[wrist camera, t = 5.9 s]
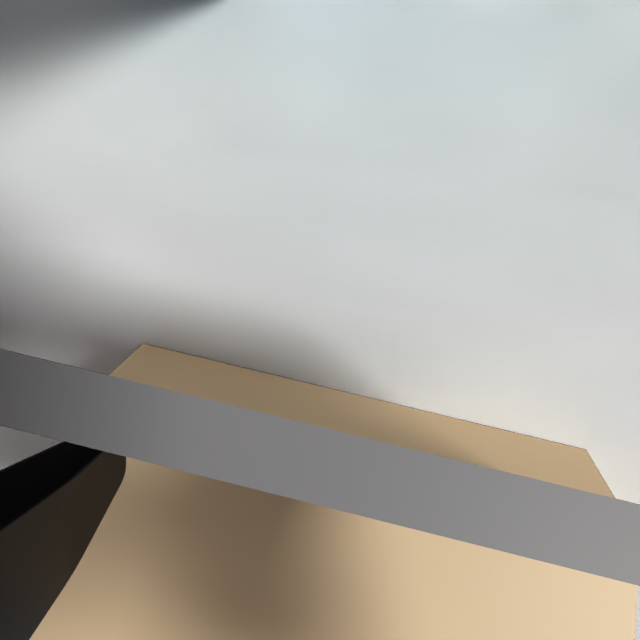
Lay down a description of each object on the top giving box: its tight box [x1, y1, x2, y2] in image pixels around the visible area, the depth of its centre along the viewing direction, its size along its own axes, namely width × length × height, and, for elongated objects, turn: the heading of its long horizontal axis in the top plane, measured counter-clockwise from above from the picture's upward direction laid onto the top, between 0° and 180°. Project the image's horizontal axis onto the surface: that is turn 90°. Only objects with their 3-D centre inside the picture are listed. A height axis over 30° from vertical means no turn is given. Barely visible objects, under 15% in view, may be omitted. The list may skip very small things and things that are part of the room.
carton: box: [109, 344, 615, 498], centre depth 19 cm, size 14×18×5 cm
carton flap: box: [0, 349, 640, 640], centre depth 9 cm, size 7×17×10 cm
